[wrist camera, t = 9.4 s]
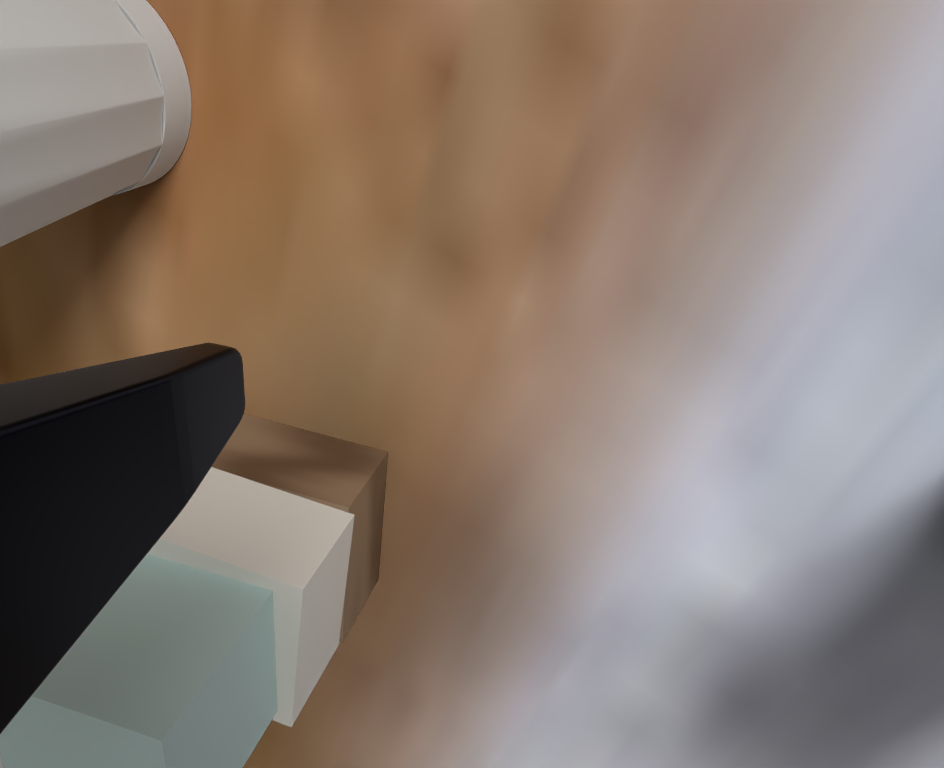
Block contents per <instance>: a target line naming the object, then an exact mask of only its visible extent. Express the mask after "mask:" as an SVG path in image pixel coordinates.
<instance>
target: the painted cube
mask: <svg viewBox="0 0 944 768" xmlns="http://www.w3.org/2000/svg"><path fill="white" fill-rule="evenodd" d="M277 711H278V704H277V679H276V655H275V631H274V608H273V590H269V589H266V588H262V587H259V586H256V585H252V584H249V583H245V582H242V581H238V580H235V579H232V578H228V577H225V576H221V575H218V574H215V573H211V572H208V571H204V570H201V569H197V568H194V567H191V566H187V565H184V564H180V563H177V562H174V561H170V560H167V559H163V558H160V557H156V556H153V555H150V554H147V555H146V556H145V557H144V558H143V560H142V561H141V562H140V563H139V565H138V566H137V567H136V568H135V569H134V571H133V572H132V573H131V574H130V576H129V577H128V578H127V579H126V581H125V582H124V583H123V584H122V585H121V587H120V588H119V589H118V590H117V592H116V593H115V594H114V595H113V596H112V598H111V599H110V600H109V601H108V603H107V604H106V605H105V606H104V608H103V609H102V610H101V611H100V612H99V614H98V615H97V616H96V617H95V619H94V620H93V621H92V622H91V624H90V625H89V626H88V627H87V628H86V630H85V631H84V632H83V633H82V635H81V636H80V637H79V638H78V640H77V641H76V642H75V643H74V644H73V646H72V647H71V648H70V649H69V651H68V652H67V653H66V654H65V655H64V657H63V658H62V659H61V660H60V662H59V663H58V664H57V665H56V667H55V668H54V669H53V670H52V671H51V673H50V674H49V675H48V676H47V678H46V679H45V680H44V681H43V683H42V684H41V685H40V686H39V687H38V689H37V690H36V691H35V692H34V694H33V695H32V696H31V697H30V699H29V700H28V701H27V702H26V703H25V705H24V706H23V707H22V708H21V710H20V711H19V712H18V713H17V714H16V716H15V717H14V718H13V719H12V721H11V722H10V723H9V724H8V726H7V727H6V728H5V729H4V730H3V732H2V733H1V734H0V757H1V760H2V763H3V767H4V768H243V766H244V765H245V763H246V762H247V760H248V758H249V757H250V755H251V753H252V752H253V750H254V748H255V747H256V745H257V743H258V742H259V740H260V738H261V737H262V735H263V734H264V732H265V730H266V729H267V727H268V725H269V724H270V722H271V720H272V719H273V717H274V715H275V714H276V712H277Z"/></svg>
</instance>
